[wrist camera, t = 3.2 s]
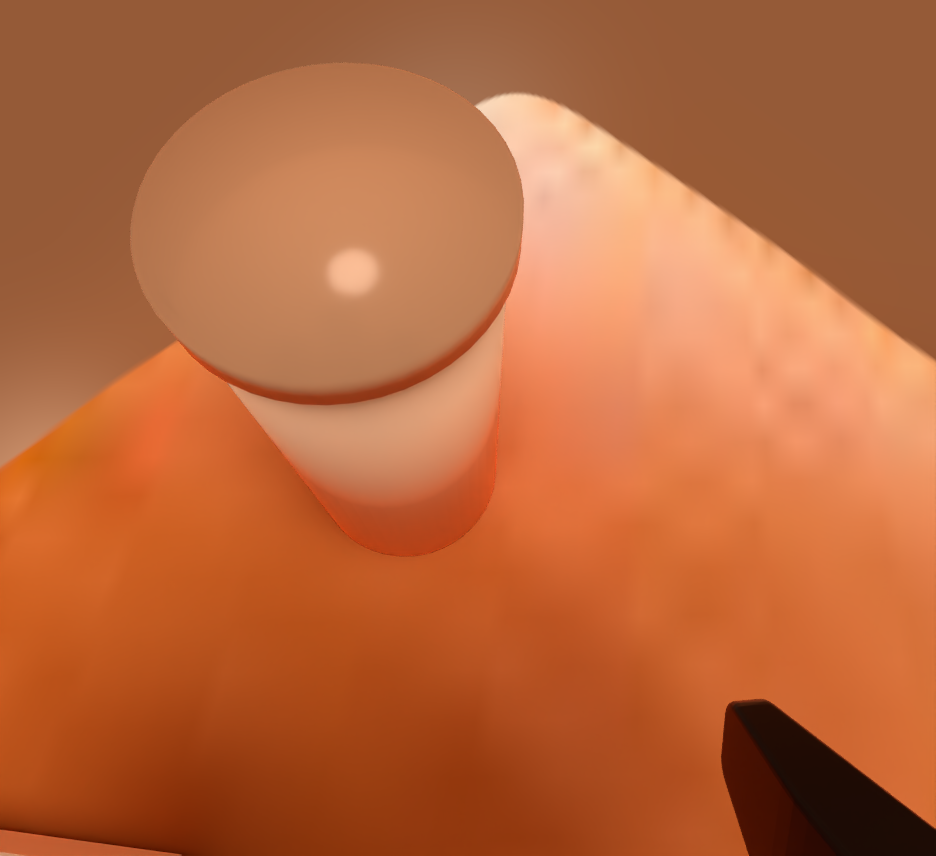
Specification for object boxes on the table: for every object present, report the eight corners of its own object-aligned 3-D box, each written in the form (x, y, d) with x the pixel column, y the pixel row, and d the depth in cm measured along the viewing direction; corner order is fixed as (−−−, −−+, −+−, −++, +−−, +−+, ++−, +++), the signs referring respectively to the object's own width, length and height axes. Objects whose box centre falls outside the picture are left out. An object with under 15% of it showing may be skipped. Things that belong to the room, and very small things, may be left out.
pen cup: (528, 419, 24) (576, 117, 12) (460, 592, 22) (433, 441, 10) (362, 361, 25) (247, 26, 13) (282, 521, 22) (51, 303, 10)
